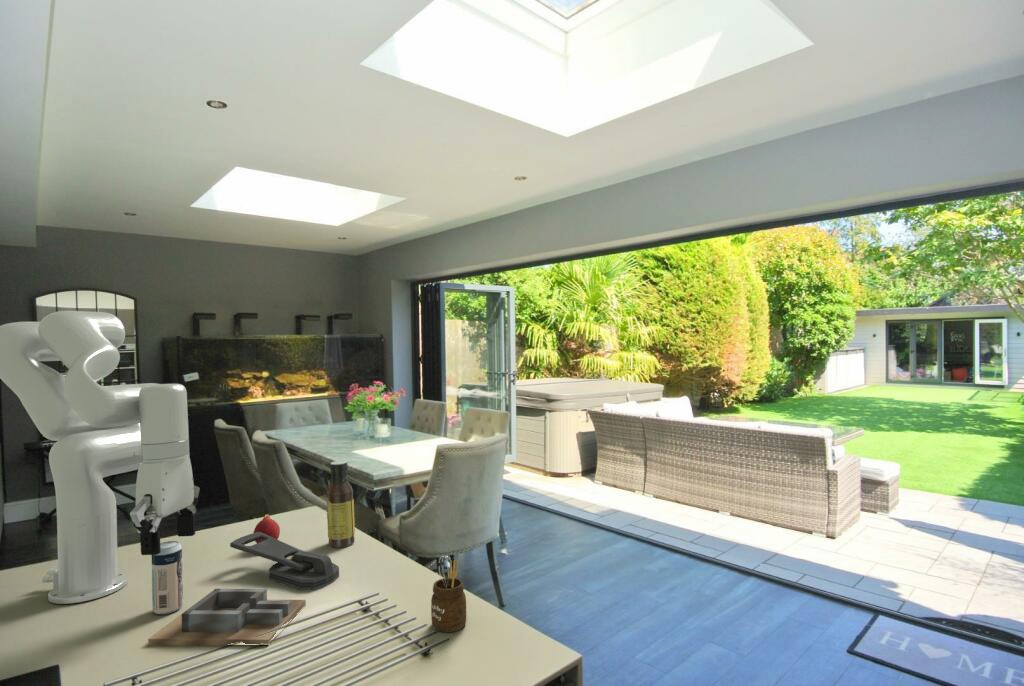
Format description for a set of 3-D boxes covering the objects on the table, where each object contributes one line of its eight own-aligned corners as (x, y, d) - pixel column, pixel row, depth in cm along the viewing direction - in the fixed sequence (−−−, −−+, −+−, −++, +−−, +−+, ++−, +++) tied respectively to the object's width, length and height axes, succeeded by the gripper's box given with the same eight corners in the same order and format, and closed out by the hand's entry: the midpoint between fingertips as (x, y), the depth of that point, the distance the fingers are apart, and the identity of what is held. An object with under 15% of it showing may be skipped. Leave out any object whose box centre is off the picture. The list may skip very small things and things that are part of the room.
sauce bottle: (338, 538, 140) (336, 458, 140) (360, 540, 138) (358, 459, 138) (322, 547, 134) (320, 463, 134) (344, 549, 132) (342, 465, 132)
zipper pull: (259, 529, 128) (345, 544, 117) (260, 558, 128) (345, 575, 117) (224, 542, 119) (313, 559, 109) (225, 573, 119) (314, 593, 109)
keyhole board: (148, 645, 91) (147, 620, 91) (201, 604, 105) (200, 583, 105) (268, 645, 90) (268, 620, 90) (305, 605, 104) (305, 583, 104)
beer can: (188, 607, 104) (187, 542, 104) (160, 618, 100) (159, 551, 100) (174, 601, 106) (173, 538, 106) (147, 612, 102) (146, 546, 102)
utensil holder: (458, 613, 99) (457, 545, 99) (472, 628, 94) (471, 556, 94) (426, 621, 97) (425, 551, 97) (439, 638, 91) (437, 563, 91)
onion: (273, 552, 131) (272, 518, 131) (249, 553, 131) (248, 519, 131) (284, 543, 137) (283, 511, 137) (260, 544, 137) (259, 511, 137)
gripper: (176, 444, 112) (180, 530, 112) (109, 461, 95) (113, 563, 94) (213, 442, 111) (216, 528, 111) (152, 459, 94) (156, 561, 94)
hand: (169, 544), depth 103 cm, fingers open, 9 cm apart
